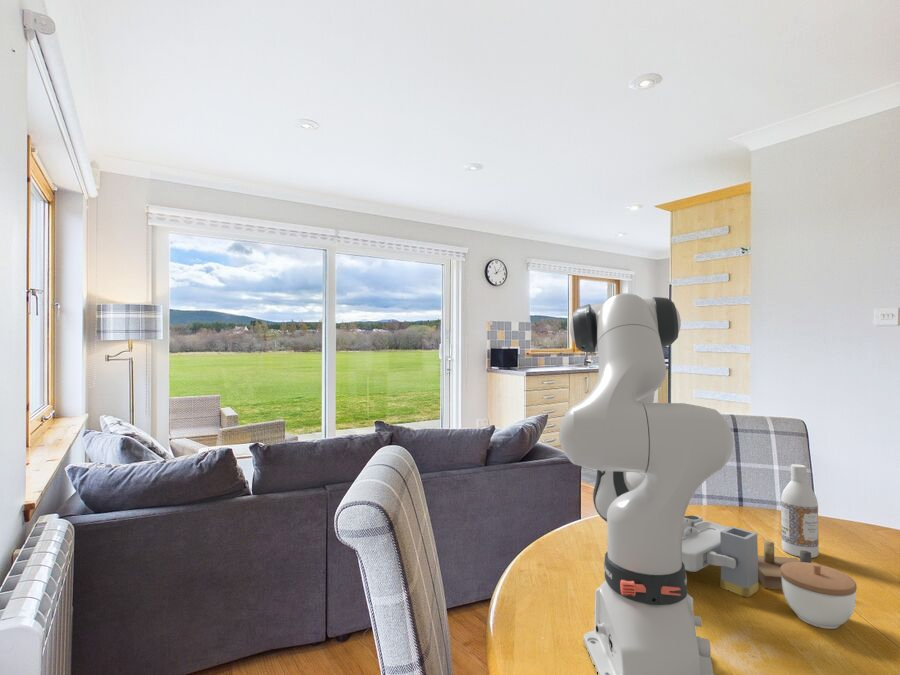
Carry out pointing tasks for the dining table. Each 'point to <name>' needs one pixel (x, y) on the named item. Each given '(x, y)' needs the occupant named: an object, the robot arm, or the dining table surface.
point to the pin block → (775, 566)
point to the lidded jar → (818, 593)
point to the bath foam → (799, 515)
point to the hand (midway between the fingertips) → (743, 559)
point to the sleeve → (740, 561)
